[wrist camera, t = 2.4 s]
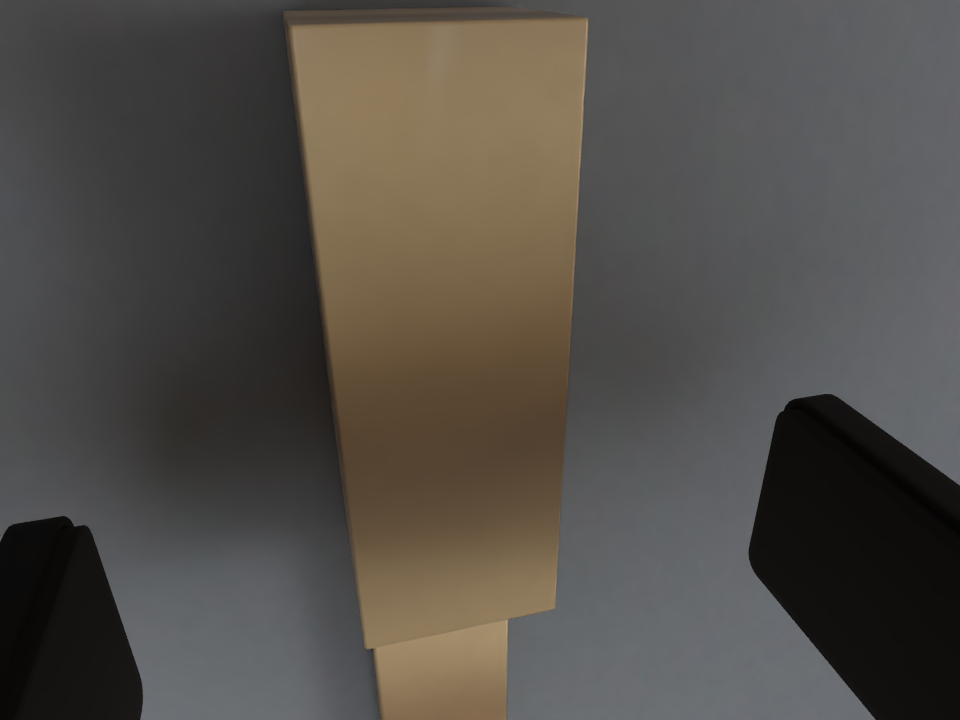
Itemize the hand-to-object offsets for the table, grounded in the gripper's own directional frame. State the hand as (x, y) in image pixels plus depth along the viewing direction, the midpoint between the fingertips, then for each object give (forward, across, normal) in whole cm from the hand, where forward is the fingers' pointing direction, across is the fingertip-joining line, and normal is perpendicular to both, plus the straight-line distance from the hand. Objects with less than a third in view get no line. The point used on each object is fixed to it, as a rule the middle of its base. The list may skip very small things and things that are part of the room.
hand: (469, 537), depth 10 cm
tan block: (+4, 0, +3) cm, 5 cm away
